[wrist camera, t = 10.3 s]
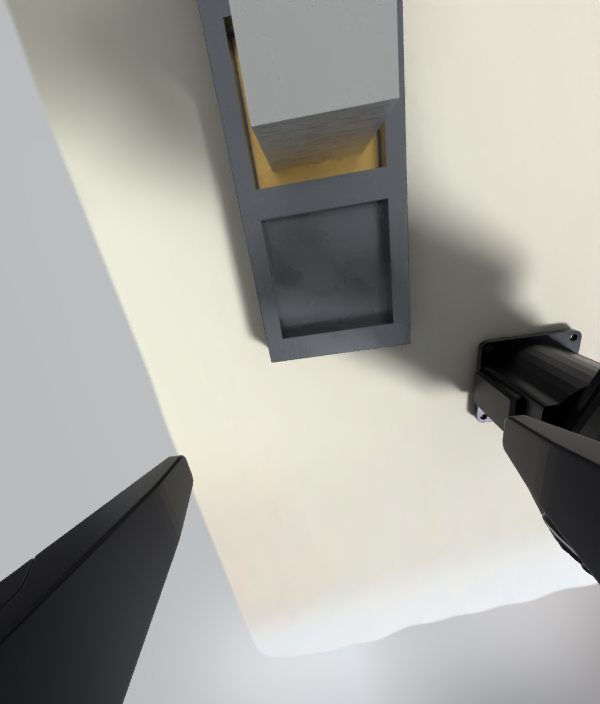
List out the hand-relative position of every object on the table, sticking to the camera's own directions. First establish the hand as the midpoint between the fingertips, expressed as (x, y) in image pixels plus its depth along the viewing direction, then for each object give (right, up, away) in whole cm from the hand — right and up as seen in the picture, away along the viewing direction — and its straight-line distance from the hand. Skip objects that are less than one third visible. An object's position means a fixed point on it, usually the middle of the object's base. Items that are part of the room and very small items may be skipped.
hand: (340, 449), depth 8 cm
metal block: (-1, +16, +7) cm, 17 cm away
